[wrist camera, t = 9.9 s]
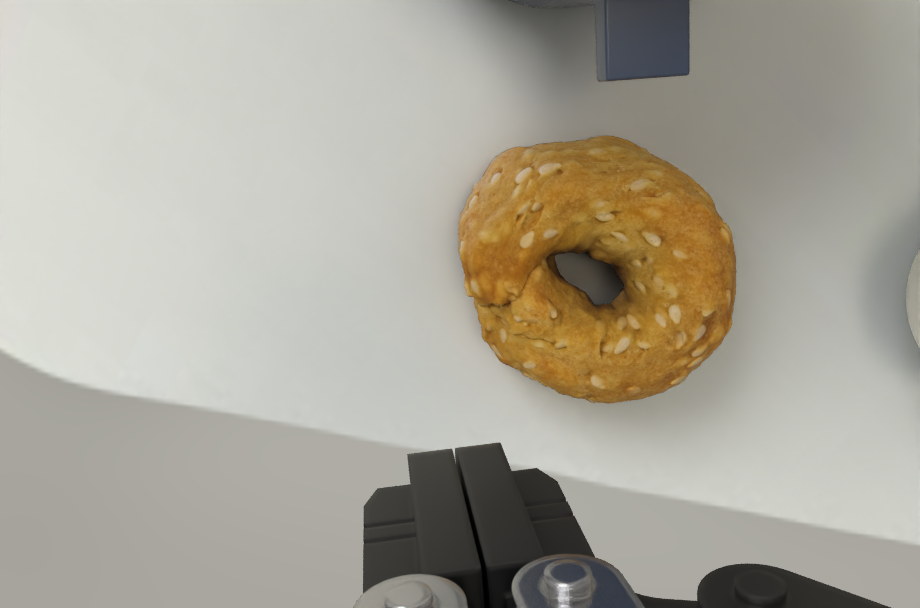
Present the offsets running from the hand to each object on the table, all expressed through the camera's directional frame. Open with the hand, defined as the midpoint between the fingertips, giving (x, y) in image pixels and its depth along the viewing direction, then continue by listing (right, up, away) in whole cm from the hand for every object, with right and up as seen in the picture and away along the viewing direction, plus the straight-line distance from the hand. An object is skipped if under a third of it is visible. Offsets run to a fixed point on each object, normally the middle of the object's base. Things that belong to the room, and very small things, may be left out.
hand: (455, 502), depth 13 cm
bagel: (+5, +5, +20) cm, 21 cm away
